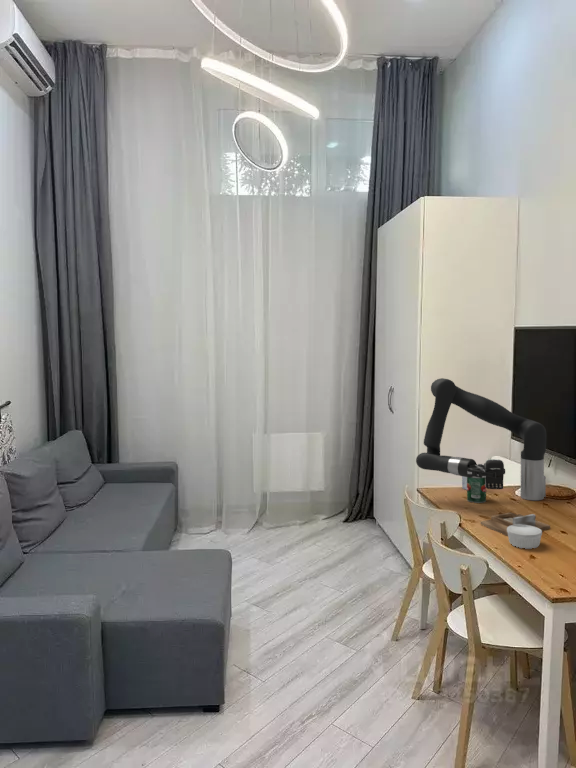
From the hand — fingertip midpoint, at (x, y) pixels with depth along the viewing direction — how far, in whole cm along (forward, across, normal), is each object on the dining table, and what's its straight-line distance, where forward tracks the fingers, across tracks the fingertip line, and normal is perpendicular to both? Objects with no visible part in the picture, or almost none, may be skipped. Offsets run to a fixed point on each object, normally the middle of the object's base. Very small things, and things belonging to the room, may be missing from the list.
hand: (500, 473), depth 226 cm
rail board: (+9, -6, +17) cm, 21 cm away
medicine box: (-28, +27, +18) cm, 43 cm away
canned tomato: (-18, +14, +18) cm, 29 cm away
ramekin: (+20, -21, +18) cm, 34 cm away
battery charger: (-2, 0, +7) cm, 7 cm away
